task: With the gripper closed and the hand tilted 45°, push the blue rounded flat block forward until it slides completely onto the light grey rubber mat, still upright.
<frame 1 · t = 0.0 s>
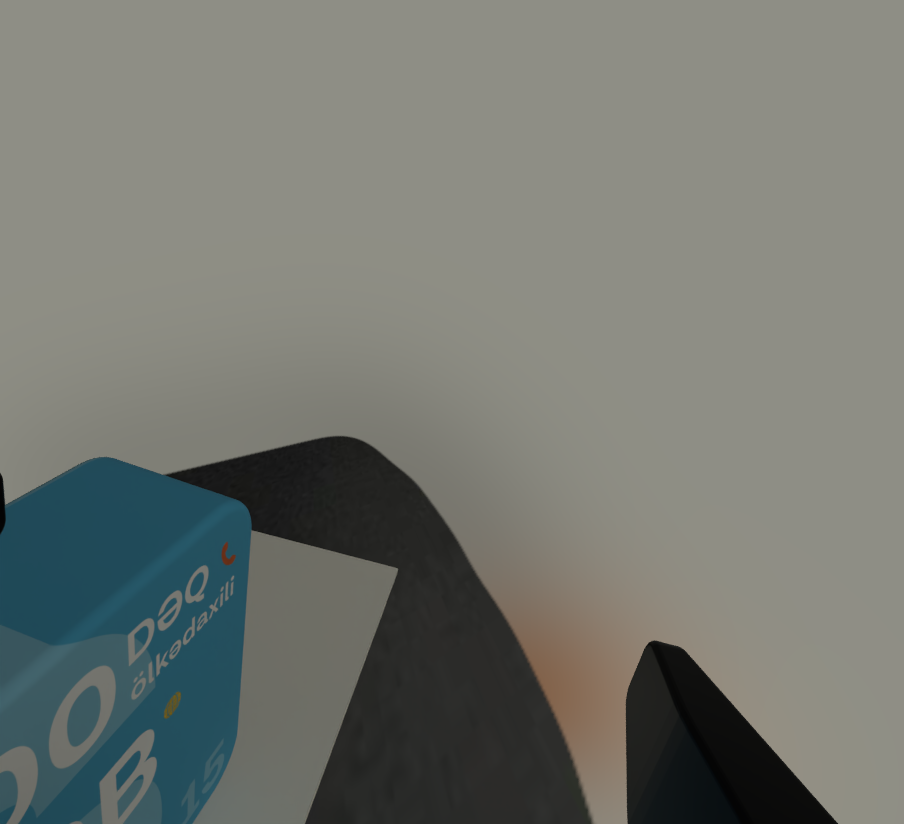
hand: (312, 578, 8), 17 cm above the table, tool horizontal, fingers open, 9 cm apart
mat: (208, 640, 28), on the table
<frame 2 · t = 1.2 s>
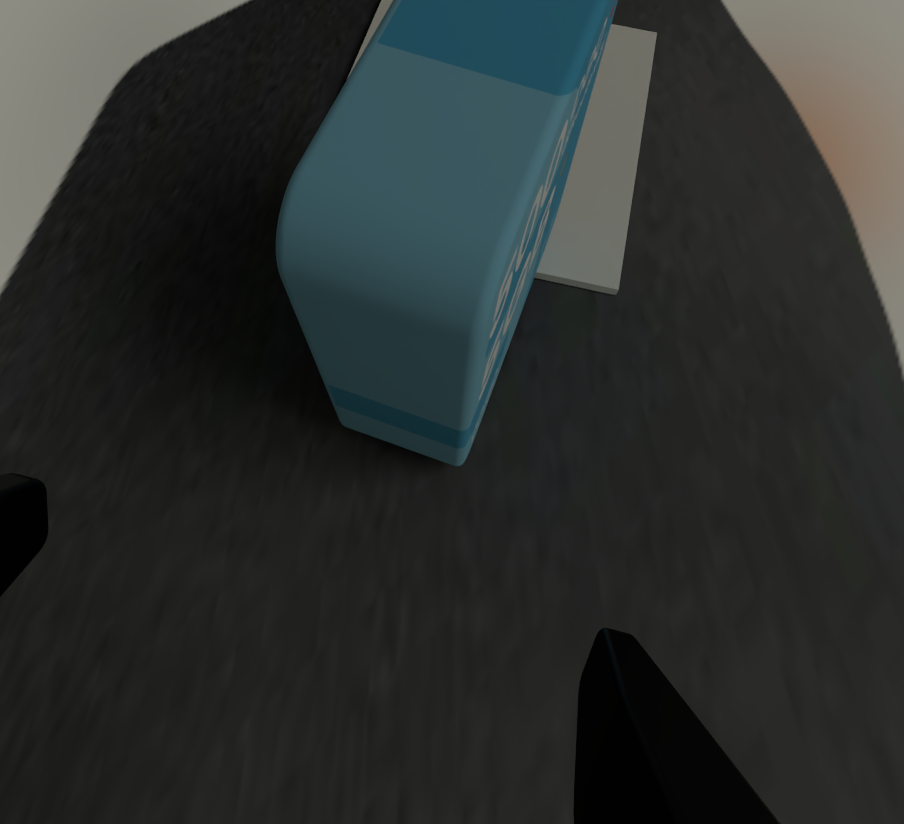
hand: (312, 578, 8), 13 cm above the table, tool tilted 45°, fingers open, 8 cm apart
blue rounded flat block: (457, 323, 25), on the table, touching mat
mat: (488, 123, 29), on the table
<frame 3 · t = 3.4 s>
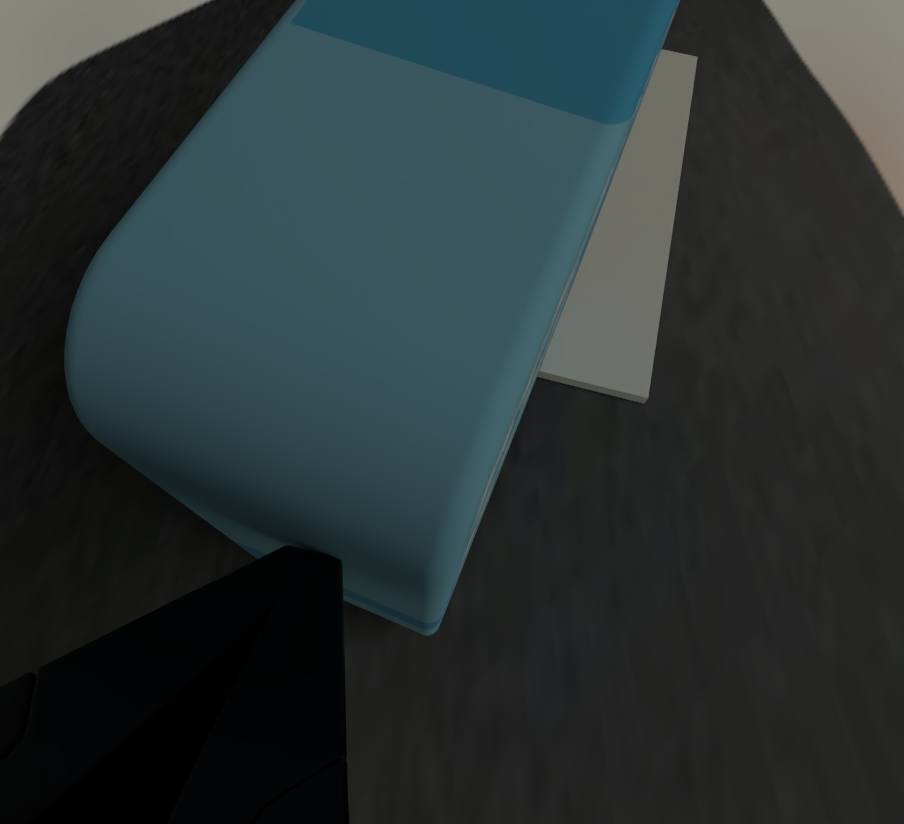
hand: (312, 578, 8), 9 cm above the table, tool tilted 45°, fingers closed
blue rounded flat block: (440, 417, 19), on the table, touching gripper, mat
mat: (485, 168, 23), on the table
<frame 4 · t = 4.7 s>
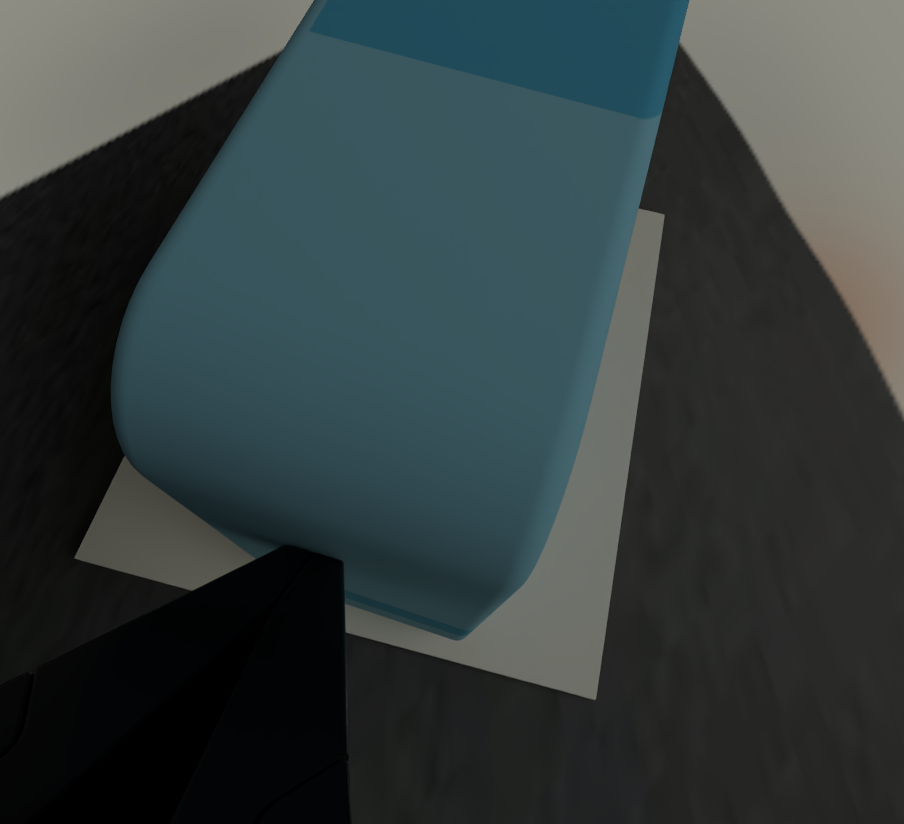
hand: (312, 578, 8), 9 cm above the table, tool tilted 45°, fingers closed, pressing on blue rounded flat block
blue rounded flat block: (447, 419, 19), resting on mat, touching gripper
mat: (412, 367, 19), on the table
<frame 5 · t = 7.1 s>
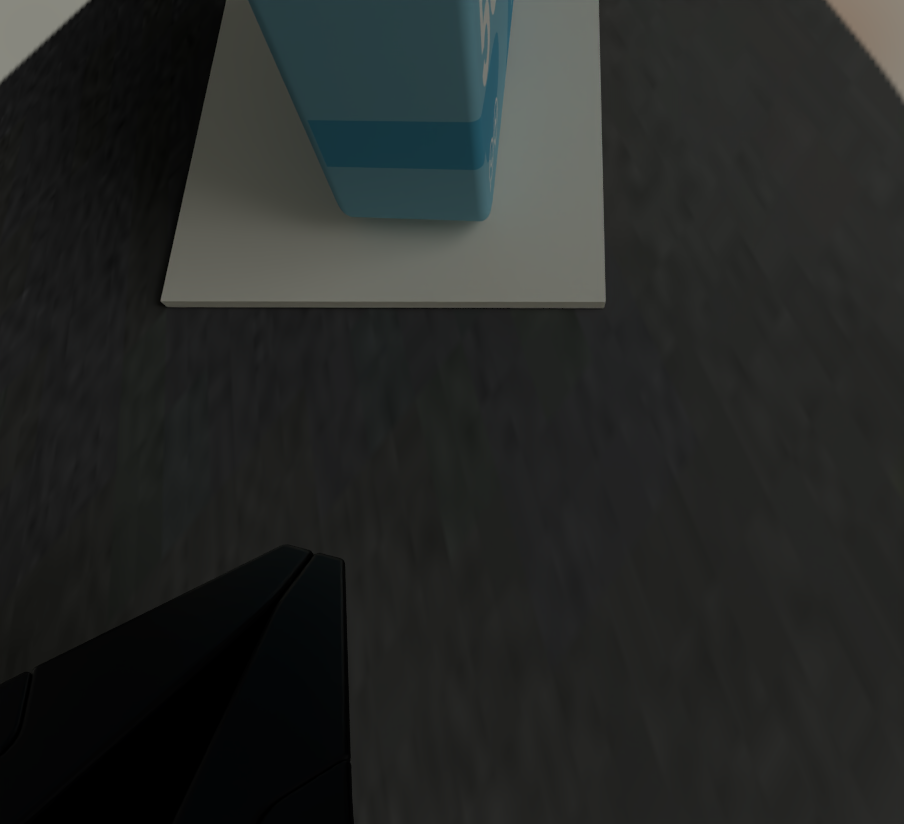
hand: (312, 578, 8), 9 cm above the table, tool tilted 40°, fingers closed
blue rounded flat block: (440, 95, 22), resting on mat
mat: (397, 103, 22), on the table
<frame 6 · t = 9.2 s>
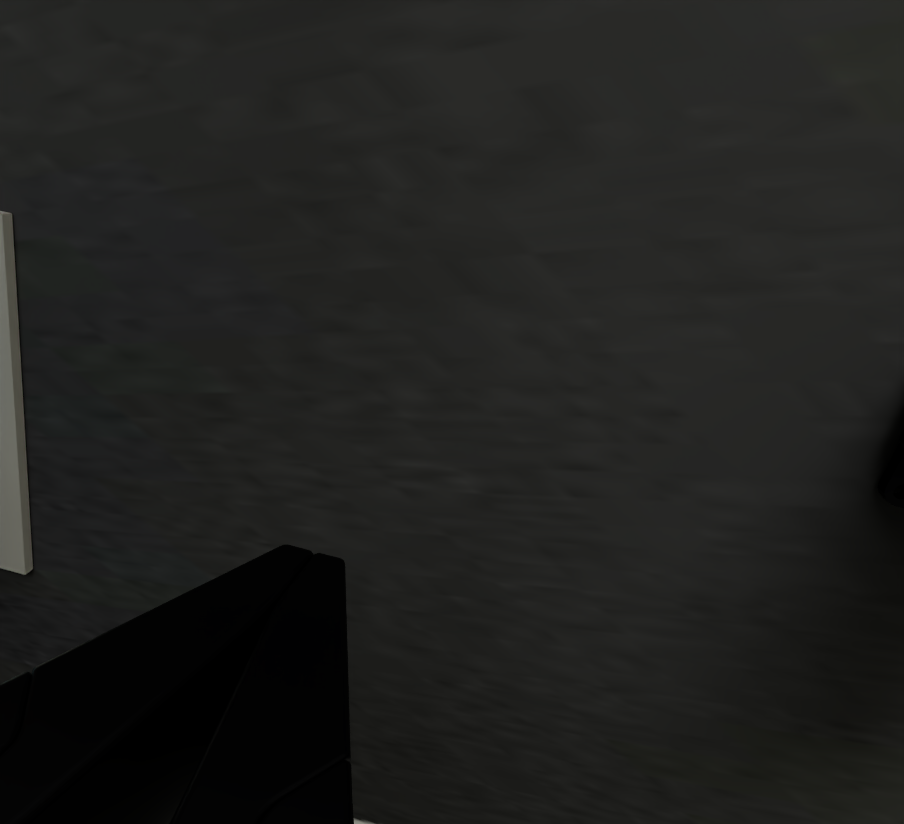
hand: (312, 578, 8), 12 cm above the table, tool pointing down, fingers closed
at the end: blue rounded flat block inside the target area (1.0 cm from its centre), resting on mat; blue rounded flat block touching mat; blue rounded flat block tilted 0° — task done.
